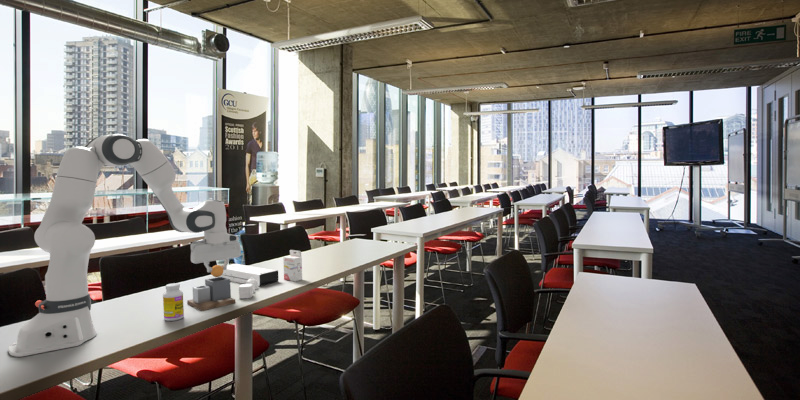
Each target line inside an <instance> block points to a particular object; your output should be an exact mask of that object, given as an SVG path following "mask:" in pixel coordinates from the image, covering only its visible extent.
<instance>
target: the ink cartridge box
mask: <svg viewBox="0 0 800 400" xmlns="http://www.w3.org/2000/svg"><path fill="white" fill-rule="evenodd" d="M302 260H303V257H302V251H301V250H295V249H290V250H289V255H285V256H283V280H284V281H285V280H286V281H290V282H300V281H301V280H303V261H302Z"/></svg>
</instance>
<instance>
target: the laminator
mask: <svg viewBox="0 0 800 400" xmlns="http://www.w3.org/2000/svg"><path fill="white" fill-rule="evenodd" d="M219 277H225V278H229V279H230V282H234V283H238V284H246V283H247V281H248V280H249V279H250V278H253V279H255V280H256V281H257V287H258V288H259V287H263V286H266V285H269V284H270V285H271V284H273V283H278V282H279V270H278V269H277V270H276V269H273V268H272V269H271V268H270V269H269V268H264V267H259V266H258V267H257V266H254V265H253V266H252V265H246V264H239V263H232V264H227V269H226V270H223V274H222V275H221V276H219Z"/></svg>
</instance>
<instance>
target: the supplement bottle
mask: <svg viewBox="0 0 800 400" xmlns="http://www.w3.org/2000/svg"><path fill="white" fill-rule="evenodd" d="M180 285H181V284H180V283H177V282H176V283H175V282H173V283H168V284H166V285H165V290H166V291H165V292H164V293H163V294H162V300H163V301H162V302H163V303H162V304H163V320H165V321H168V322H175V321H179V320H182V319H183V318H184V316H185V313H184V312H185V309H184V293H183V291H182V290H180V288H181V287H180Z"/></svg>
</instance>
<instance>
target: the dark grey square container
mask: <svg viewBox="0 0 800 400" xmlns="http://www.w3.org/2000/svg"><path fill="white" fill-rule="evenodd" d="M204 285H206V286H209V287H210V300H211V301H213V302H214V301H218V300H223V299H227V298H232V294H231V291H232V289H231V281H230V279H229V278H225V277H211V278H206V279H204Z"/></svg>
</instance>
